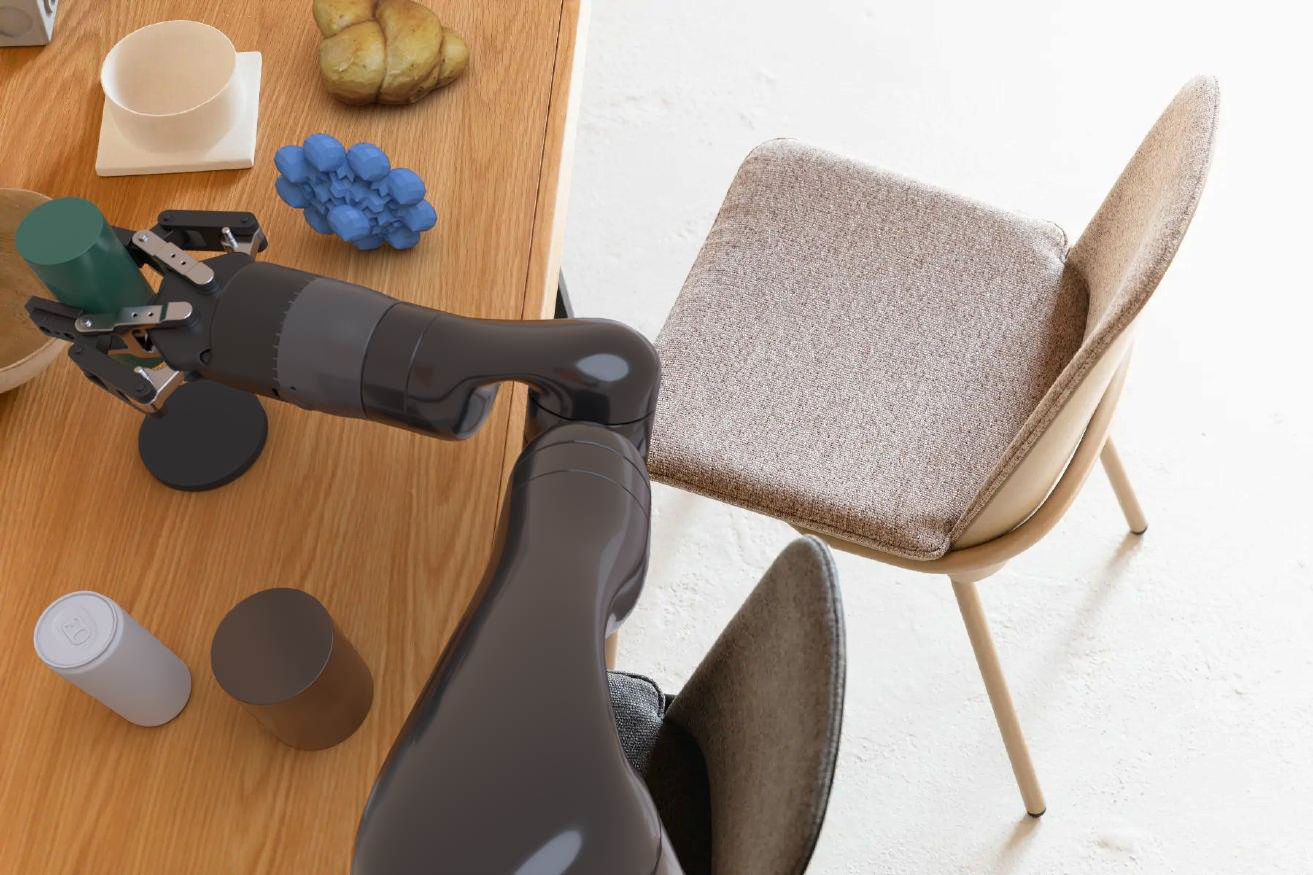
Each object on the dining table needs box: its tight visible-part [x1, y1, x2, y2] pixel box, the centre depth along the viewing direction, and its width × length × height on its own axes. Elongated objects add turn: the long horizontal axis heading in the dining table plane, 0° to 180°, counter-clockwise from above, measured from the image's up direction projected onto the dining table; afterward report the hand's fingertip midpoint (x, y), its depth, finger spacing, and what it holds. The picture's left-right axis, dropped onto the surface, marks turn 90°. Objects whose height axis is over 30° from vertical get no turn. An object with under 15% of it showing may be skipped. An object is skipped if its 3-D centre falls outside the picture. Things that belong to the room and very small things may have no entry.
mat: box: [137, 380, 269, 493], centre depth 84 cm, size 9×9×1 cm
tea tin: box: [14, 196, 165, 371], centre depth 69 cm, size 5×5×11 cm
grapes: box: [273, 132, 438, 251], centre depth 88 cm, size 12×7×12 cm, turn 86°
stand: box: [210, 587, 374, 752], centre depth 71 cm, size 7×7×10 cm
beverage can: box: [32, 590, 192, 728], centre depth 70 cm, size 5×5×12 cm
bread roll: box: [311, 0, 470, 106], centre depth 99 cm, size 13×10×8 cm
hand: (59, 274), depth 69 cm, fingers closed on tea tin, 5 cm apart
